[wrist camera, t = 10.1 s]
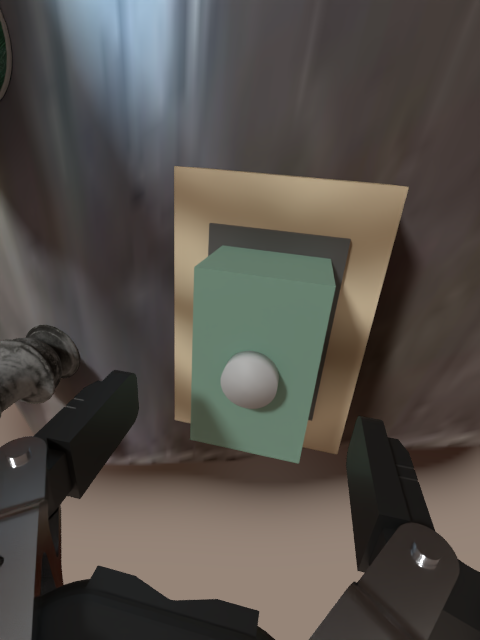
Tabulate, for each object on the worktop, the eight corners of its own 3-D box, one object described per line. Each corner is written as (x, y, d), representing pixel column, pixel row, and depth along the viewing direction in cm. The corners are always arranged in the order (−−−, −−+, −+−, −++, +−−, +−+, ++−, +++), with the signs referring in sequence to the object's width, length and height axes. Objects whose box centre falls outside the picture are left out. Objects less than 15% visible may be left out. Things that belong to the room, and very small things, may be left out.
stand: (204, 167, 21) (171, 166, 16) (387, 184, 19) (410, 187, 15) (197, 380, 28) (173, 422, 23) (333, 405, 26) (337, 458, 21)
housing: (222, 245, 17) (187, 272, 13) (330, 258, 16) (337, 293, 12) (214, 388, 21) (184, 451, 16) (302, 405, 20) (297, 477, 15)
